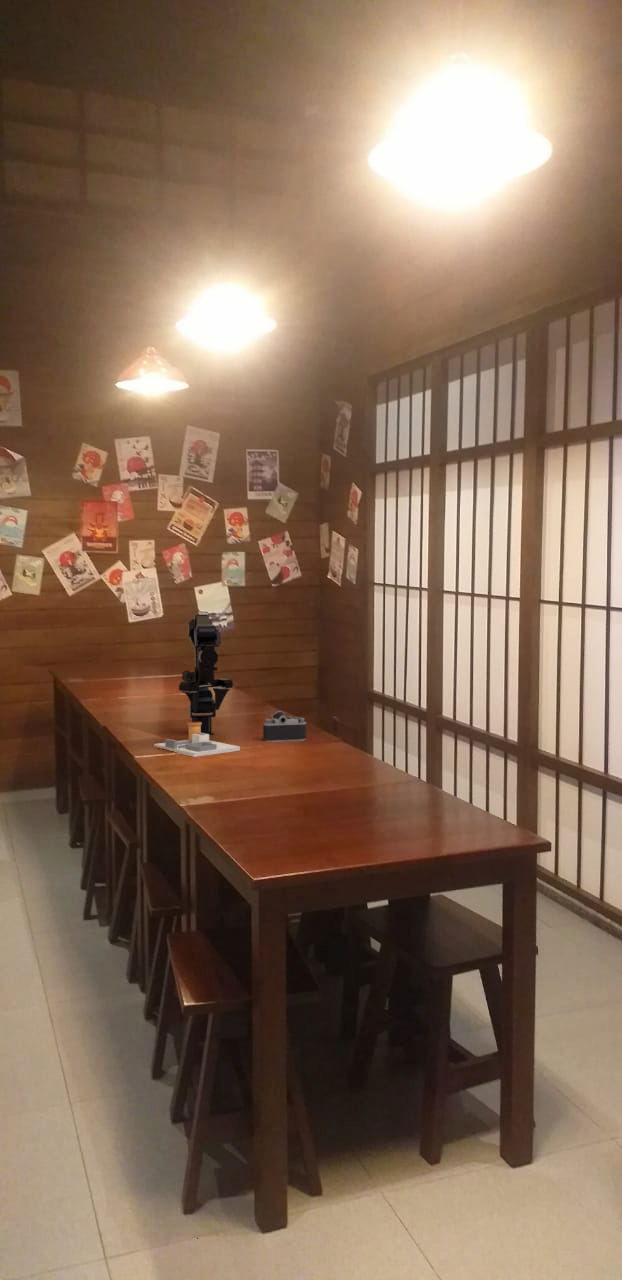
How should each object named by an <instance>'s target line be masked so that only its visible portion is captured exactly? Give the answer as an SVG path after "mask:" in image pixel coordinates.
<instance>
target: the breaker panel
mask: <svg viewBox="0 0 622 1280" xmlns="http://www.w3.org/2000/svg"><path fill="white" fill-rule="evenodd" d="M154 746H157V747H160V748H164V749H167V750H170V751H174V752H173V753H175V752H177V753H176V754H179V753H180V755H185V756H188V757H192V758H195V757H196V758H197V757H202V756H203V757H204V756H211V755H217V754H225V753H232V752H237V751H240V750H241V746H238V745H234V744H229V743H224V742H219V741H215V740H210V739H209V742H197V743H192V740H190V741H189V739H183V740H182V739H181V740H177V739H176V740H175V739H169V738H165V741H164V742H159V743H153V747H154ZM170 751H169V752H170Z"/></svg>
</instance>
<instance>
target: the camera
mask: <svg viewBox="0 0 622 1280" xmlns="http://www.w3.org/2000/svg"><path fill="white" fill-rule="evenodd" d="M261 728H262V729H263V730H262V731H263V733H262V736H263V739H262V740H263V742H266V743H267V742H268V743H269V742H270V743H272V742H273V743H275V742H276V743H277V742H278V743H279V742H304V740H305V741H306V740H307V722H306V721H305V717H297V716H295V717H294V716H288V715H287V713H285V712H284V711H282V710H279V711H277V712H275V713H274V714H271V718H265V722H264V723H263V725H262V726H261Z"/></svg>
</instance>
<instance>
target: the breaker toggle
mask: <svg viewBox="0 0 622 1280" xmlns="http://www.w3.org/2000/svg"><path fill="white" fill-rule="evenodd" d="M209 740H210V735H209V734H205V733H196V734H192V743H197V742H209Z"/></svg>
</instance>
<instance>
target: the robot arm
mask: <svg viewBox="0 0 622 1280" xmlns="http://www.w3.org/2000/svg"><path fill="white" fill-rule="evenodd" d="M187 637H188V638H189V644H190V645H191V647H192V648H193V649H194V671H190V670H184V671H182V673H181V675H182V676H181V678H182V681H181V682H180V683H179V684H178V691H181V693H182V694H185V695H186V696H187V697H188V699H189V700H188V701H189V710H188V713H189V714H188V716H189V718H190V719H191V721H190V722H202V725H201V733H205V734H209V736H210V735H215V732H213V729H212V725H213V724H212V719H213V718H215V717H216V716H217V711H219V710H220V707H221V705H222V703H223V701H224V699H225V697H226V696H227V694H228V692H229V691H231V689H233V688H234V681H233V680H232V679H231V678H223V677H221V678H216V671H218V670H219V669H218V666H216V664H217V662H218V660H219V656H218V653H217V651H216V648H219V647H220V645H221V632H220V631H219V629H218V628H217V626H216V625H214V624H213V622H212V620H211V619H210V615H209V614H207V613H205V614H202V613H201V614H200V613H199V614H198V613H196V614H195V615H194V616H193V619H191V620H190V621H189V622H188V625H187ZM209 688H212V690H213V692H214V696H213V692H212V690H210V689H209ZM213 697H214V698H213Z"/></svg>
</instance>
